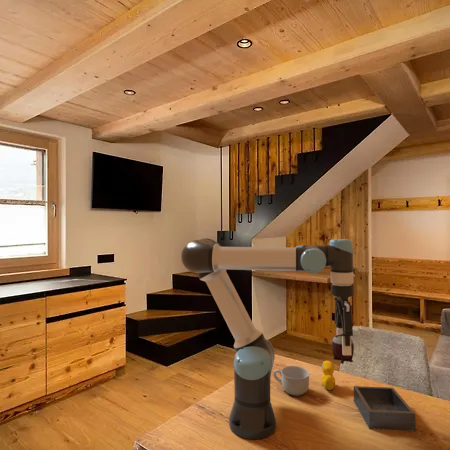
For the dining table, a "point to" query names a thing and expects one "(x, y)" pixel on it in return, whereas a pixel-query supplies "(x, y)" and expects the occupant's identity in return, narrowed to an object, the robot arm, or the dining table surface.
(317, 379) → the dining table surface
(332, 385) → the duckling
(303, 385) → the teacup
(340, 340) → the mate gourd
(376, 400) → the tray
